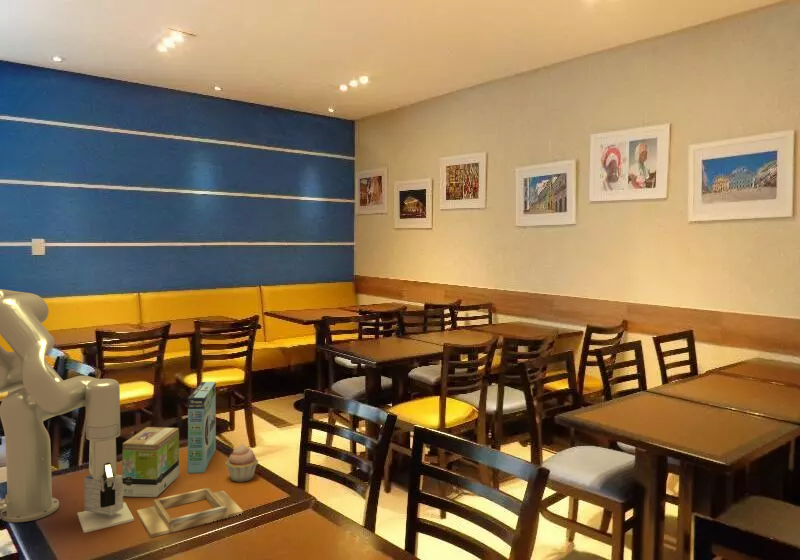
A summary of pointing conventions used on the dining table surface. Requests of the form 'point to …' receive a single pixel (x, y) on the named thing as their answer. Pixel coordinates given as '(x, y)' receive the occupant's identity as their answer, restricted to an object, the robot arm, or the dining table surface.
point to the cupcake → (241, 464)
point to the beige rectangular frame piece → (162, 524)
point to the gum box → (201, 427)
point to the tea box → (150, 461)
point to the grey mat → (104, 519)
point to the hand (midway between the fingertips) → (104, 498)
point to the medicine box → (93, 496)
